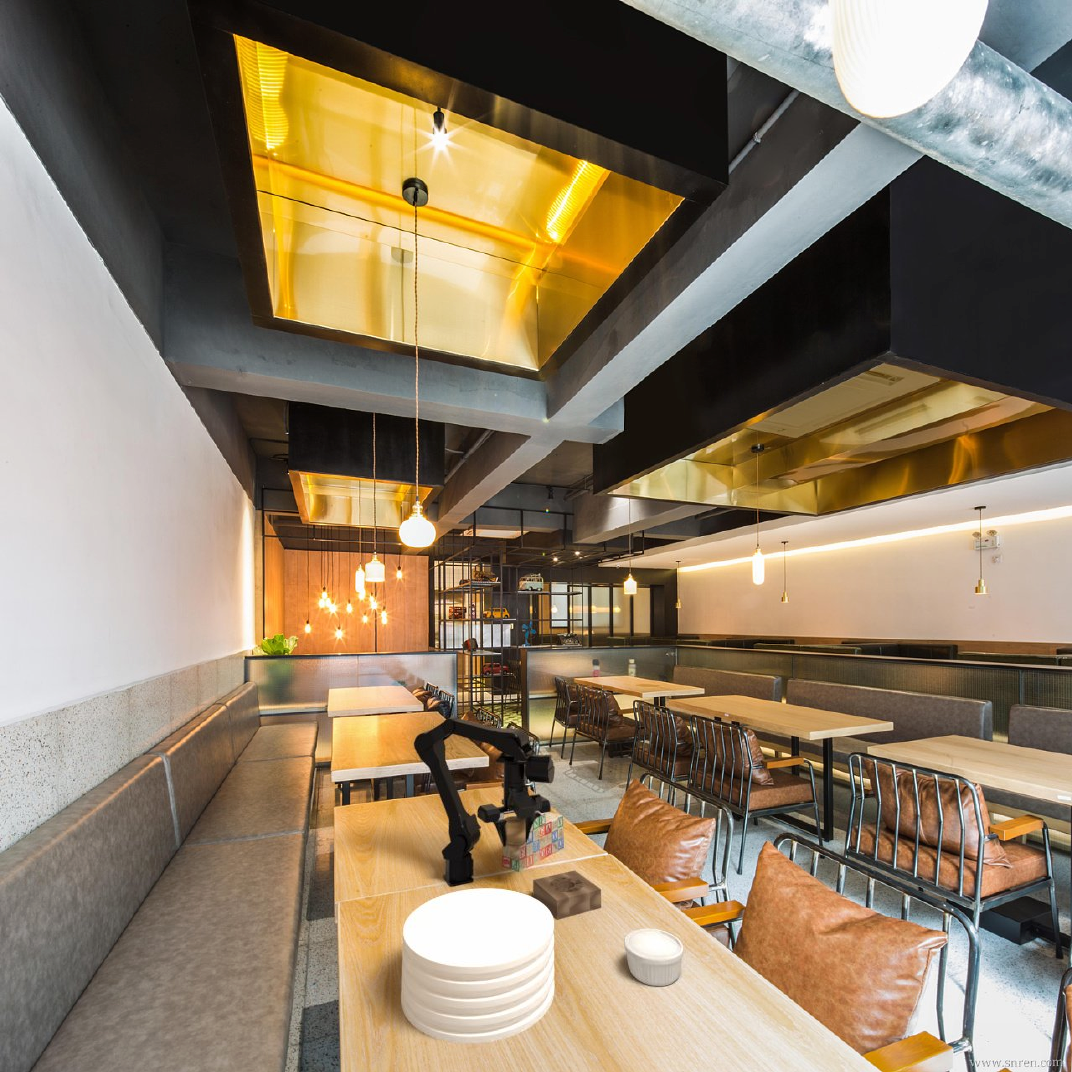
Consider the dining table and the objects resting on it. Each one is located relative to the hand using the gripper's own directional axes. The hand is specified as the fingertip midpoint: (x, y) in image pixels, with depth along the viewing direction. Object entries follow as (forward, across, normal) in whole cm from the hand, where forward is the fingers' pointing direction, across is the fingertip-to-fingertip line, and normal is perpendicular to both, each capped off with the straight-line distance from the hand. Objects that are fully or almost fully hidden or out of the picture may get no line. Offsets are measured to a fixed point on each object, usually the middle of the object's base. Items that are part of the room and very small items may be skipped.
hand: (514, 844), depth 148 cm
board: (+10, +8, -13) cm, 18 cm away
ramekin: (+11, +9, -45) cm, 47 cm away
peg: (+3, 0, 0) cm, 3 cm away
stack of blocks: (+11, +13, +15) cm, 23 cm away
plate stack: (+11, -23, -34) cm, 42 cm away
